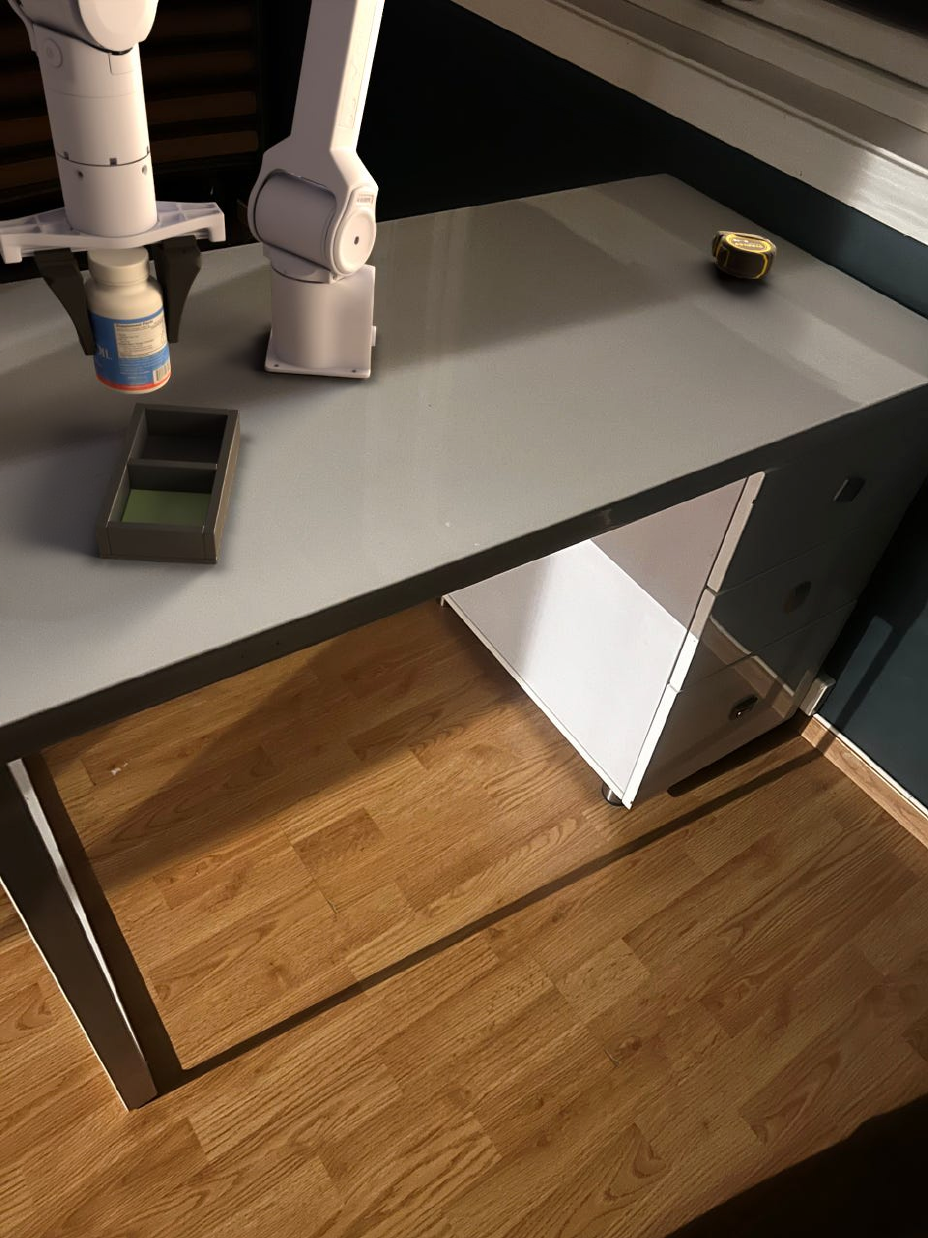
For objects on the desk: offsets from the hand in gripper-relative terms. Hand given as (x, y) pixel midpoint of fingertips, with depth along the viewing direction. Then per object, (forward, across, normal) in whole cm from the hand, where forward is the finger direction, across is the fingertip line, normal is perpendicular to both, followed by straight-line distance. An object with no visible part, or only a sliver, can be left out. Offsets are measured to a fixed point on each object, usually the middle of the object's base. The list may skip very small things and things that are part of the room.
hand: (130, 342), depth 71 cm
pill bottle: (+3, 0, 0) cm, 3 cm away
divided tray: (+10, -1, +6) cm, 11 cm away
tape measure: (+10, -73, -14) cm, 75 cm away
